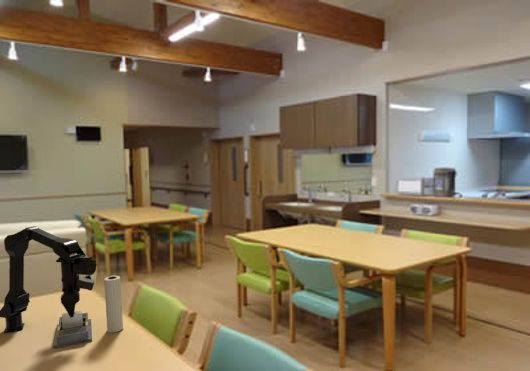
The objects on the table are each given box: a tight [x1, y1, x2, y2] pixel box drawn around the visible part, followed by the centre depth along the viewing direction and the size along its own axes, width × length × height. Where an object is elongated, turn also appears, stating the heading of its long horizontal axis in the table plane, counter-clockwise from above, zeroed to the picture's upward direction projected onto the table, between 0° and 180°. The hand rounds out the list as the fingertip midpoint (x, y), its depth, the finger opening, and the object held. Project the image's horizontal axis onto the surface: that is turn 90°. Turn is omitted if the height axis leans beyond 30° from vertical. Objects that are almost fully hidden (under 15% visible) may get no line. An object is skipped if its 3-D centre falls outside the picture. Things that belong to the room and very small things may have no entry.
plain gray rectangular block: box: [61, 310, 83, 330], centre depth 158 cm, size 3×7×8 cm, turn 114°
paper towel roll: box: [103, 274, 124, 333], centre depth 163 cm, size 7×6×21 cm
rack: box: [52, 312, 93, 349], centre depth 160 cm, size 21×13×4 cm, turn 24°
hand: (72, 313), depth 157 cm, fingers open, 9 cm apart
